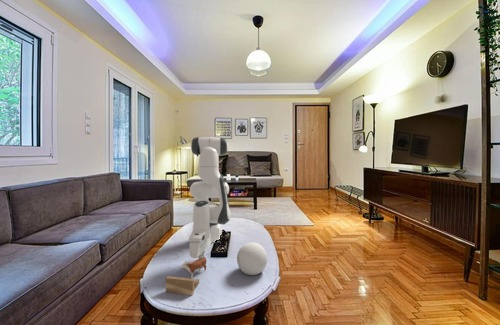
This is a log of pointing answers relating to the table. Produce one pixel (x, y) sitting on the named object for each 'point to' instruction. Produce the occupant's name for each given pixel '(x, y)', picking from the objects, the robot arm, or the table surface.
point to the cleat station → (181, 285)
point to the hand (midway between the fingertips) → (201, 259)
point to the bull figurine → (195, 265)
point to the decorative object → (252, 258)
